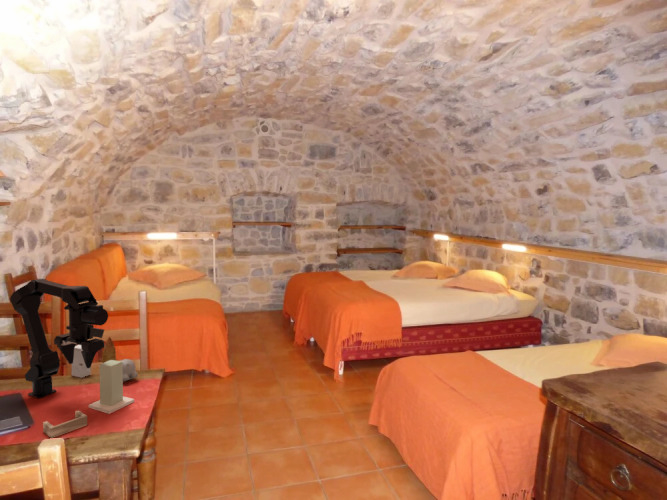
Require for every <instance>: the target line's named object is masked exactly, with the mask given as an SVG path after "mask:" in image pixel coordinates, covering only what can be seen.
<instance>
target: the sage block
mask: <svg viewBox="0 0 667 500" xmlns="http://www.w3.org/2000/svg"><path fill="white" fill-rule="evenodd" d="M98 371H99V372H98V373H99V400H100V404H104V405H110V406H113V405H115V404H116V403H118V402H120V401H122V400H123V396H124V390H123V389H124V387H123V386H124V384H123V383H124V382H123V369H122V361H121V360H116V361H115V360H109V361H107V362H104V363H102V362H101V363H99V367H98Z"/></svg>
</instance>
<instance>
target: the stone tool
mask: <svg viewBox="0 0 667 500" xmlns="http://www.w3.org/2000/svg"><path fill="white" fill-rule="evenodd" d="M116 353H117V352H116V347H115V344H114V342H113V339H112V337H110V336H108V338H107V339H106V341H105V347H104V348H103V350H102V354H101V359H102V360H101V364H102V363H104V362H107V361H109V360H115V361H117V357H116V356H117V355H116Z"/></svg>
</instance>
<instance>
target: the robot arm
mask: <svg viewBox="0 0 667 500" xmlns="http://www.w3.org/2000/svg"><path fill="white" fill-rule="evenodd" d="M44 294H45V295H49V296H52V297H57V298H59V299H61V301H62V302H64V303H65V304H66V305H65V306H64V307H63V309H64V310H68V325H66V328H65V329H66V330H69V332H67V333H62V334H59V335H56V336H55V337H54V339H53V345H56V347H57V348H58V349H59V351H60V352H61V353H62V355H63V356H64V358H65V359H66V361H67V363H68V364H69V365H72V363H73V359H74V347H75V346H77V345H81V348H82V350H83V351H81V353H82V356H83V359H84V362H85V365H86V367H87V368H90V367H91V368H92V364H93V362H94V359H95V356H96V353H98V352H99V351H100V350H102V349H104V347H105V344H106V341H104V340H103V336H104V333H105V329H104V328H98V327H94V325H95V326H104V325H105V324H107V323H106V322H107V321H108V320H109V313H108V311H107V310H106V309H105V308H104V305H101V304H99V303H98V301H97V299H96V298H95V295H94V294H93V293H92V291H91V290H90V287H89V286H87V285H66V284H63V283H59V282H54V281H50V280H47V279H45V278H38V279H31V280H30V281H29V282H27V284H25V285H23V286H22V287H19V288H18V289H16V290H15V291H14V292H12V294H11V295H10V297H9V301H10V303H11V305H12V307H13V310H14V311H15V312H17V313H18V314H19V315H21V318H22V322H23V325H24V328H25V332H26V334H27V338H28V342H29V344H30V348H31V351H32V353H31V354H32V355H31V358H30V361H29V365H30V367H29V369H28V370H27V372H25V374H24V379H25V381H27V382H31V387H32V390H31V392H29V393H27V396H31V397H34V398H37V399H40V398H44V397H46V396H49V395H51V394H54V393H56V392H57V390H56V389H53V377H52V376H55V375H58V372H59V369H60V366H61V364H60V363H61V360H60V357H59V353H58V351H57V350H52V349H51V348H50V347H49V344H48V341H47V337H46V333H45V330H44V327H43V323H42V319H41V317H40V313H39V309H40V306H41V304H42V303H41V298H42V297H43V296H44Z"/></svg>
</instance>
